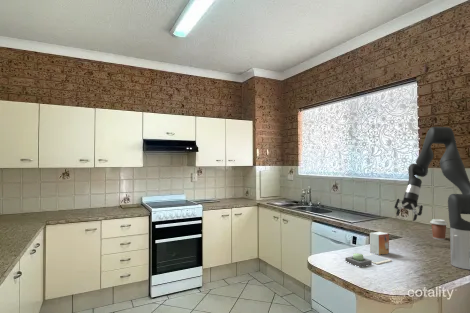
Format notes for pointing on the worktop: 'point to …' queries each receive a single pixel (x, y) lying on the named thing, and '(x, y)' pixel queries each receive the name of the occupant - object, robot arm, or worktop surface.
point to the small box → (379, 243)
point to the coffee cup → (438, 228)
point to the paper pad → (377, 259)
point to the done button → (358, 257)
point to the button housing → (359, 263)
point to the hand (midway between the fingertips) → (405, 218)
